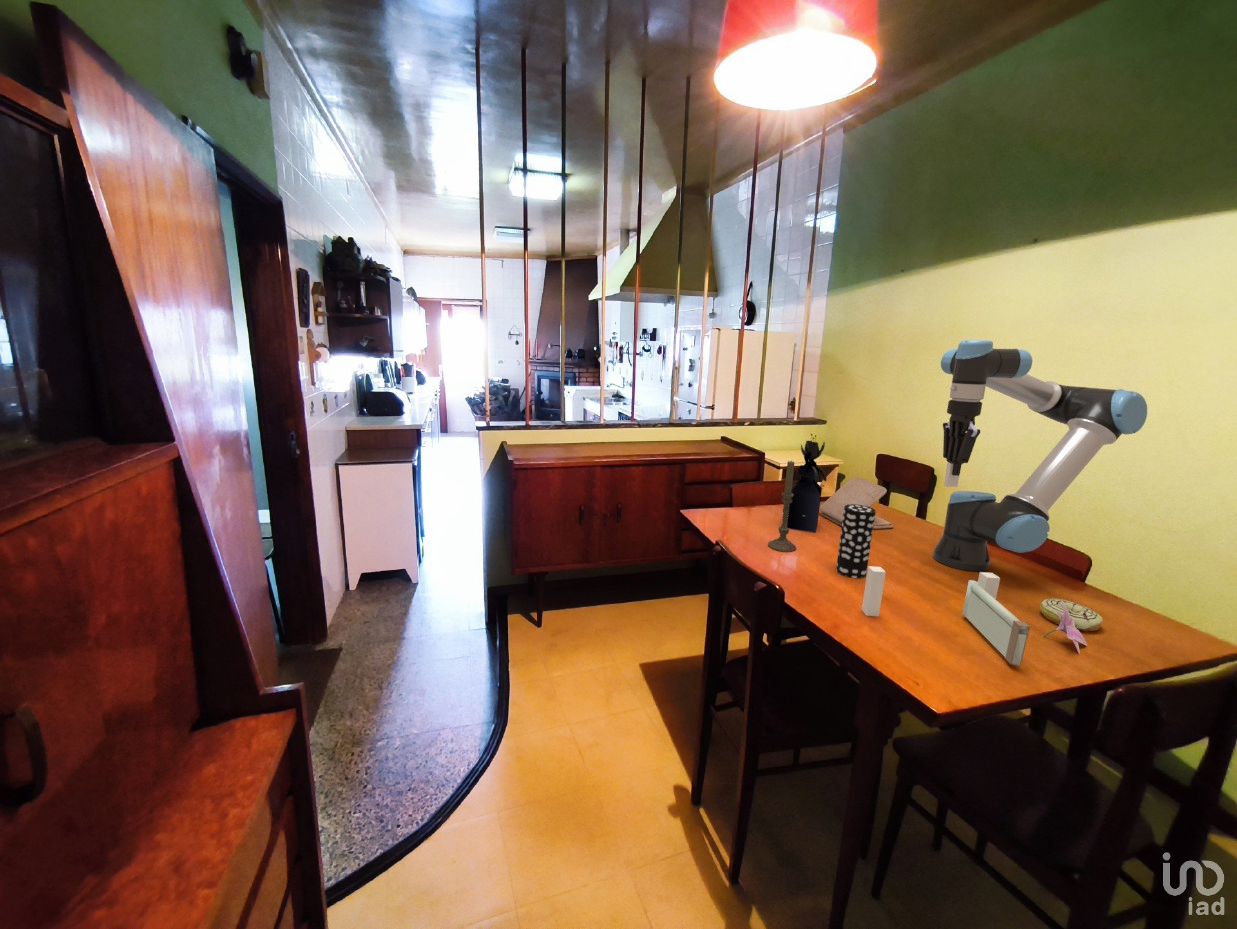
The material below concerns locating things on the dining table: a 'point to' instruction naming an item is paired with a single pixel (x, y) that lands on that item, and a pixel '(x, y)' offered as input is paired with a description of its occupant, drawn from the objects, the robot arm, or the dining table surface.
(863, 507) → the spotted tube
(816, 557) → the dining table surface
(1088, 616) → the decorated donut
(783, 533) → the candlestick holder
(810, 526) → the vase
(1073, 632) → the lily
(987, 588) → the gate posts
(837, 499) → the case
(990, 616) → the gate
